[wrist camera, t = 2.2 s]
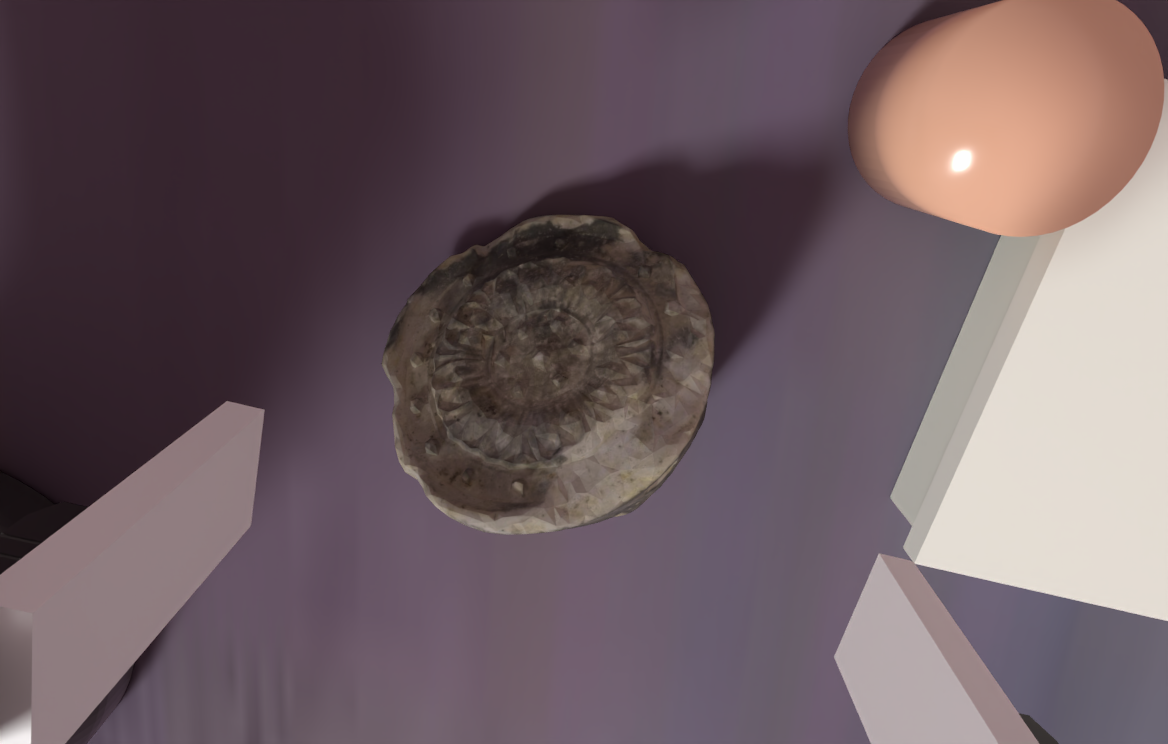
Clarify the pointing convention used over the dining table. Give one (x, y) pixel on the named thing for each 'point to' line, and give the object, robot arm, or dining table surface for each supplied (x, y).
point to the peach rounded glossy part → (1010, 113)
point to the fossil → (549, 376)
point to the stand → (1058, 413)
